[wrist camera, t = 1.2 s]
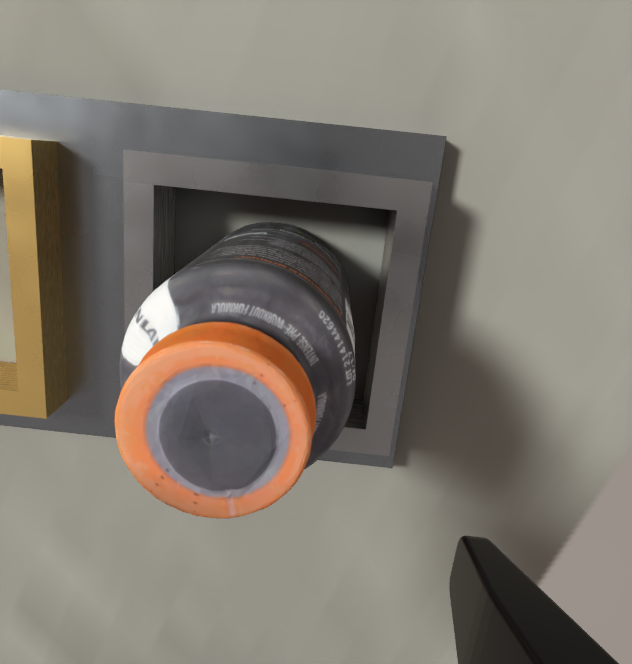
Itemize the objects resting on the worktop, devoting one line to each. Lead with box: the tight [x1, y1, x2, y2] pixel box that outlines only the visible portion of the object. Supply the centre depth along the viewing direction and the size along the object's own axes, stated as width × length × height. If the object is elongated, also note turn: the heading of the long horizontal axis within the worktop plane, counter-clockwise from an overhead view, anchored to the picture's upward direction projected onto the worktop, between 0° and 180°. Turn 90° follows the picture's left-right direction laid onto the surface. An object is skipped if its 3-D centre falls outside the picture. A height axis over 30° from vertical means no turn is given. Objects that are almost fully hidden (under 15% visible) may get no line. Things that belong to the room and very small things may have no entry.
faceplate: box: [0, 90, 446, 468], centre depth 20 cm, size 13×24×2 cm, turn 84°
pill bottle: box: [115, 222, 356, 518], centre depth 16 cm, size 6×6×11 cm
